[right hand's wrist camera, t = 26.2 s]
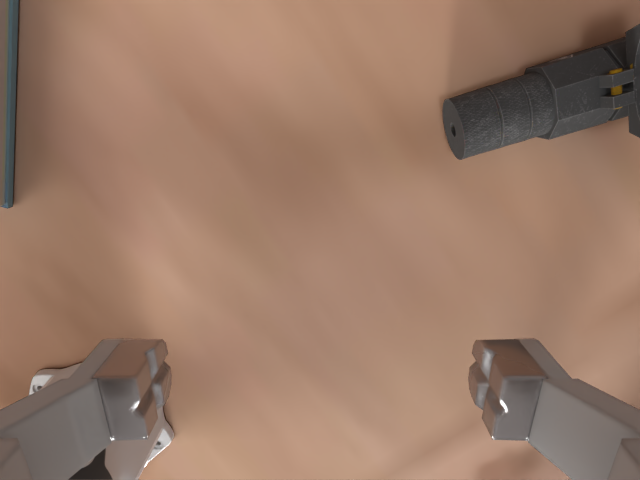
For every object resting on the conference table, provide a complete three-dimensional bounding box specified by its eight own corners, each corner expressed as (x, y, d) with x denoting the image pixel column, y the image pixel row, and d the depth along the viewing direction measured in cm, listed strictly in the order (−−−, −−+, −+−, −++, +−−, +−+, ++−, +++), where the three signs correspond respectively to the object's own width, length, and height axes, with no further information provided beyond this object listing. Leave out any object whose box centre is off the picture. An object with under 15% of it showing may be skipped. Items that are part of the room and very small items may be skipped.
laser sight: (433, 75, 38) (471, 71, 28) (683, -6, 35) (813, -39, 26) (452, 173, 41) (491, 199, 32) (682, 105, 39) (797, 111, 29)
